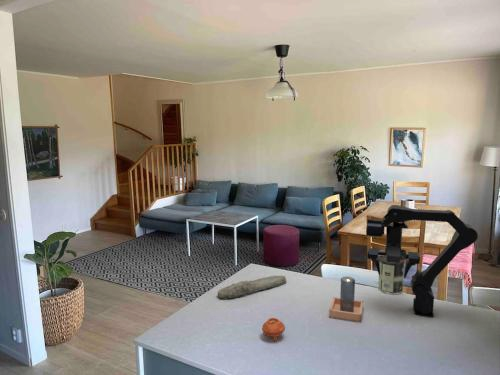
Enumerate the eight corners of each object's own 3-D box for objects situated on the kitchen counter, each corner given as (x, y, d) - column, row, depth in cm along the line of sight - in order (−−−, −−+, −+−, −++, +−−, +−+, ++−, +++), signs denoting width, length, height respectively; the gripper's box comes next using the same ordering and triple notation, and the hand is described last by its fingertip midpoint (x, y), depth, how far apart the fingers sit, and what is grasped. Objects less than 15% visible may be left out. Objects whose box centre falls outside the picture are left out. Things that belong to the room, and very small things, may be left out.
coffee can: (400, 285, 169) (401, 255, 167) (404, 295, 159) (406, 263, 157) (376, 284, 172) (377, 254, 169) (379, 293, 162) (380, 262, 159)
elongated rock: (291, 287, 172) (278, 281, 181) (291, 276, 172) (279, 270, 180) (224, 302, 154) (213, 295, 162) (224, 290, 154) (213, 283, 162)
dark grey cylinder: (356, 311, 145) (357, 278, 143) (349, 316, 141) (350, 282, 139) (344, 306, 148) (345, 275, 146) (337, 311, 145) (338, 278, 143)
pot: (290, 339, 126) (285, 322, 125) (268, 348, 125) (263, 330, 123) (282, 327, 134) (278, 310, 132) (262, 334, 133) (257, 318, 131)
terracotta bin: (363, 308, 148) (363, 301, 148) (361, 322, 138) (361, 314, 137) (333, 304, 152) (333, 297, 152) (329, 317, 142) (329, 310, 141)
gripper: (367, 241, 140) (365, 281, 142) (422, 246, 134) (419, 287, 136) (368, 233, 150) (367, 270, 153) (419, 238, 144) (417, 276, 146)
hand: (391, 276), depth 147 cm, fingers open, 9 cm apart
